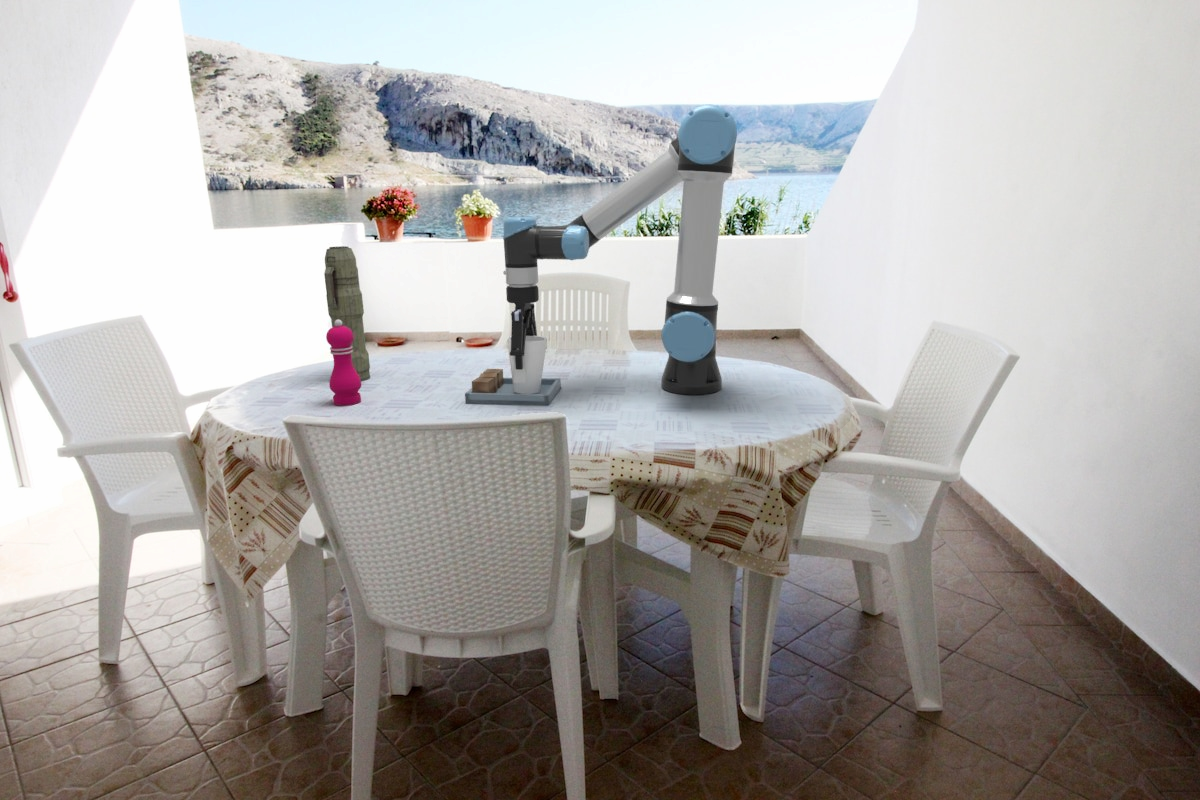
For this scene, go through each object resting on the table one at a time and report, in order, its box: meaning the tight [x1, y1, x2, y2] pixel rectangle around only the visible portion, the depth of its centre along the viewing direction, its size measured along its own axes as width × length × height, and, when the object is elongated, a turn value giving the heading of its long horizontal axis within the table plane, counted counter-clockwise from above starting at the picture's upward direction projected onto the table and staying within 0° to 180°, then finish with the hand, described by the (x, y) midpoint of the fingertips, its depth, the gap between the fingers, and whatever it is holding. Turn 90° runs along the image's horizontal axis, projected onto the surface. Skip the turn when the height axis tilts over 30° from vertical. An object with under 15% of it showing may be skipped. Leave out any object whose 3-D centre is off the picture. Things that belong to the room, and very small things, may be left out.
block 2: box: [478, 372, 498, 393], centre depth 175 cm, size 4×4×4 cm
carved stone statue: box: [323, 245, 371, 382], centre depth 188 cm, size 9×12×35 cm
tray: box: [464, 377, 562, 406], centre depth 175 cm, size 20×16×2 cm
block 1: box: [471, 376, 495, 393], centre depth 171 cm, size 4×4×4 cm
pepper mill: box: [325, 320, 362, 407], centre depth 169 cm, size 7×7×20 cm
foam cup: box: [506, 335, 548, 394], centre depth 173 cm, size 10×9×13 cm
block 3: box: [482, 368, 504, 388], centre depth 179 cm, size 4×4×4 cm
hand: (526, 376), depth 173 cm, fingers open, 11 cm apart
